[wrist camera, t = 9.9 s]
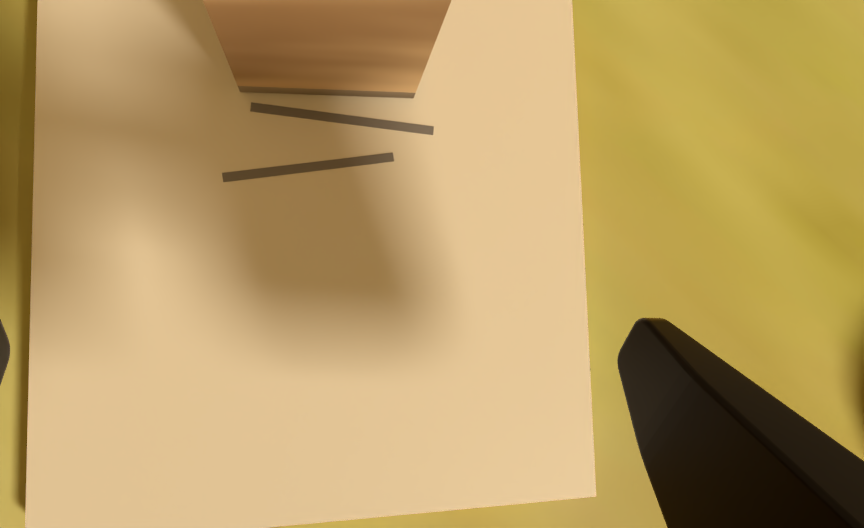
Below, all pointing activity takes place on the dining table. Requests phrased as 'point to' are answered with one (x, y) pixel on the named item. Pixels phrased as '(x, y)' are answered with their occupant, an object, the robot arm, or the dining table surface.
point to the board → (303, 278)
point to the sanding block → (328, 44)
